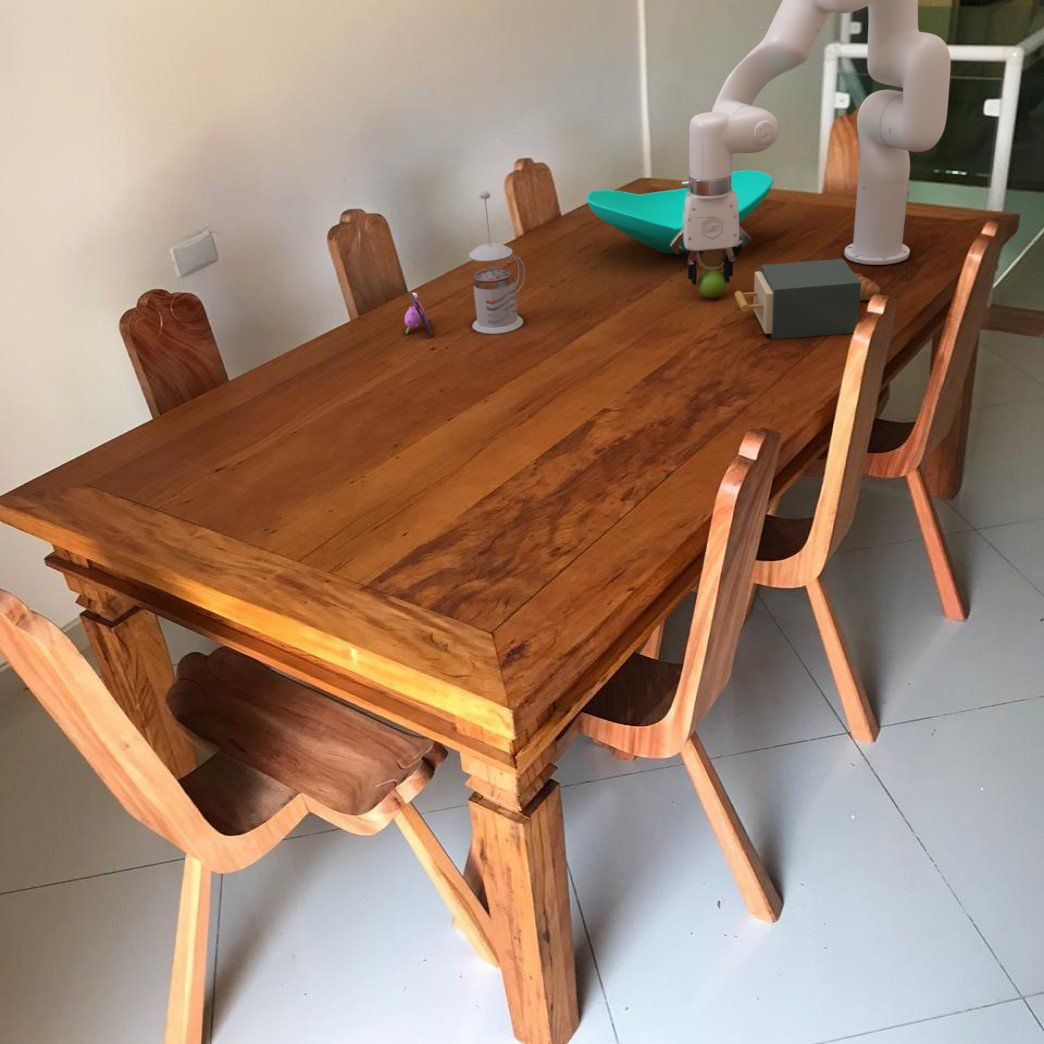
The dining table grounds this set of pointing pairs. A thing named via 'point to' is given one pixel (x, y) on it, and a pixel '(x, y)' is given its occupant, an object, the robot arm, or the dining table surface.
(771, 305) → the drawer
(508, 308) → the french press
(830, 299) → the cabinet
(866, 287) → the pastry
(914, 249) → the dining table surface
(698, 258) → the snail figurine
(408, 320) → the purple plush toy
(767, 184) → the table top decor
